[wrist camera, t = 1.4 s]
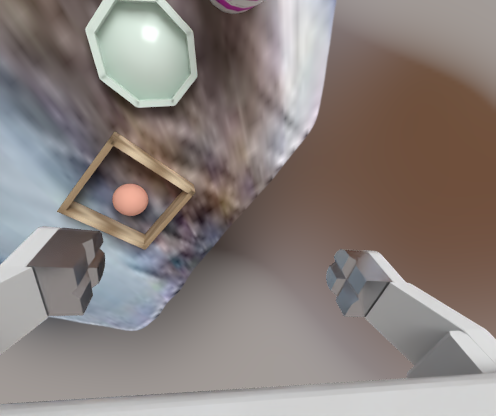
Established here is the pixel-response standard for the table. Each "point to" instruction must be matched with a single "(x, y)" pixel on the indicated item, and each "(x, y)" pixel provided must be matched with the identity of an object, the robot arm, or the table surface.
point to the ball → (130, 199)
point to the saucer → (143, 51)
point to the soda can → (235, 5)
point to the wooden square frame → (111, 225)
